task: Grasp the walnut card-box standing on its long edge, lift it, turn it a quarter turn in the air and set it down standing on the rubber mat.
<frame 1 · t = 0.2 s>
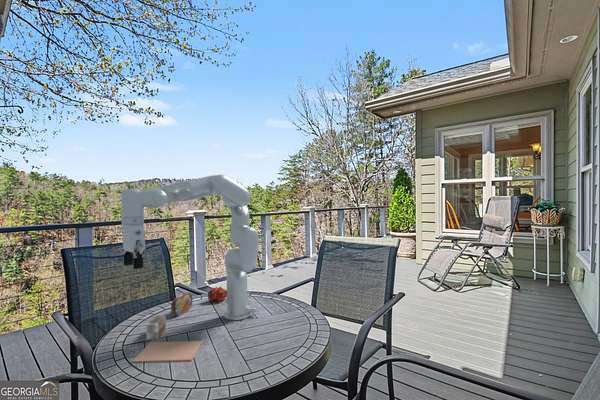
hand: (133, 266, 121), 30 cm above the table, tool pointing down, fingers open, 9 cm apart
mat: (169, 351, 116), on the table
tin: (182, 312, 156), on the table
card box: (156, 334, 131), on the table
dragon fruit: (218, 301, 172), on the table
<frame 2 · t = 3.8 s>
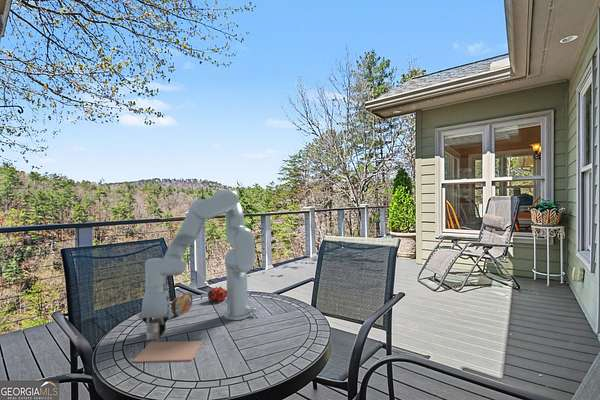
hand: (156, 332, 131), 1 cm above the table, tool pointing down, fingers closed on card box, 4 cm apart
card box: (156, 334, 131), on the table, touching gripper
everything else where it was.
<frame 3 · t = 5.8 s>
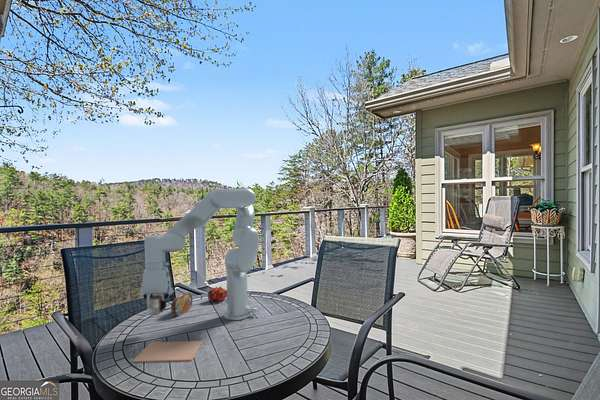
hand: (157, 309, 131), 10 cm above the table, tool pointing down, fingers closed on card box, 4 cm apart
card box: (157, 311, 131), point 10 cm above the table, touching gripper
everything else where it was.
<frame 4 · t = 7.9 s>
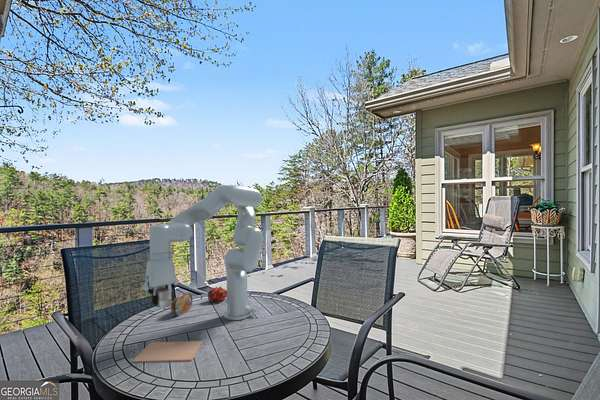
hand: (161, 302, 124), 15 cm above the table, tool pointing down, fingers closed on card box, 4 cm apart
card box: (161, 304, 124), point 15 cm above the table, touching gripper
everything else where it was.
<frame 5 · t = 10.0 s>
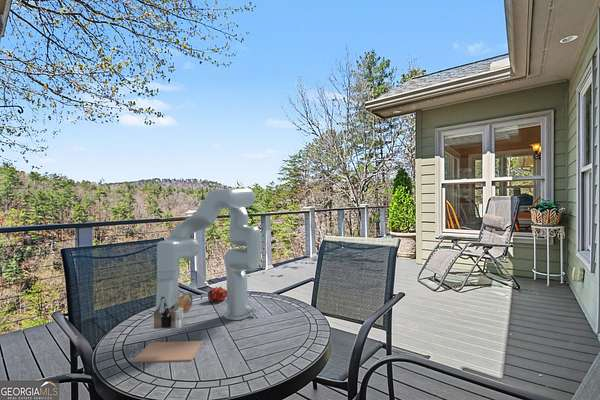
hand: (168, 324, 116), 10 cm above the table, tool pointing down, fingers closed on card box, 4 cm apart
card box: (168, 326, 116), point 9 cm above the table, touching gripper
everything else where it was.
when the fingers open (3 cm above the table, at t = 12.0 s): card box drops 1 cm, resting on mat.
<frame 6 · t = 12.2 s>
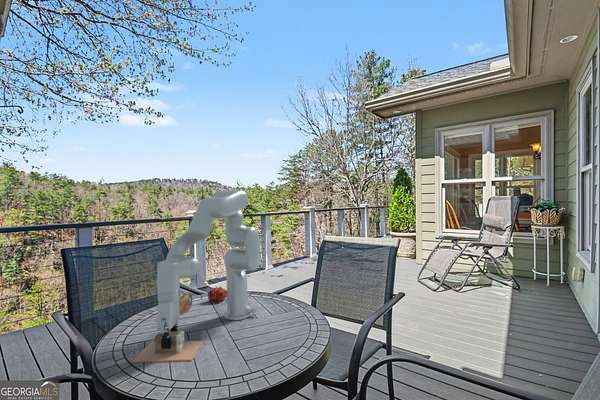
hand: (169, 343, 116), 3 cm above the table, tool pointing down, fingers open, 6 cm apart
card box: (169, 350, 116), resting on mat
everything else where it was.
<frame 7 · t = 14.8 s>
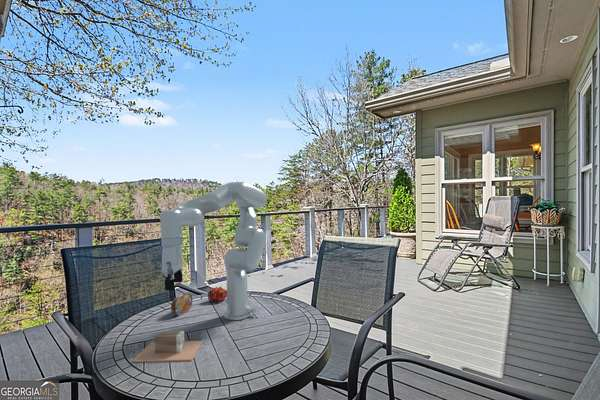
hand: (174, 286, 122), 22 cm above the table, tool pointing down, fingers open, 9 cm apart
nothing on the table moved.
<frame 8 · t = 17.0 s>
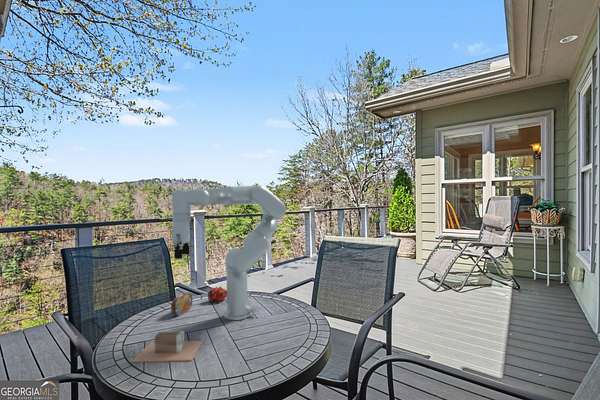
hand: (182, 256, 140), 30 cm above the table, tool pointing down, fingers open, 9 cm apart
nothing on the table moved.
at the end: card box inside the target area on the mat (0.0 cm from its centre), point 0.5 cm above the mat's base; card box tilted 0°; the gripper is holding nothing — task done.
